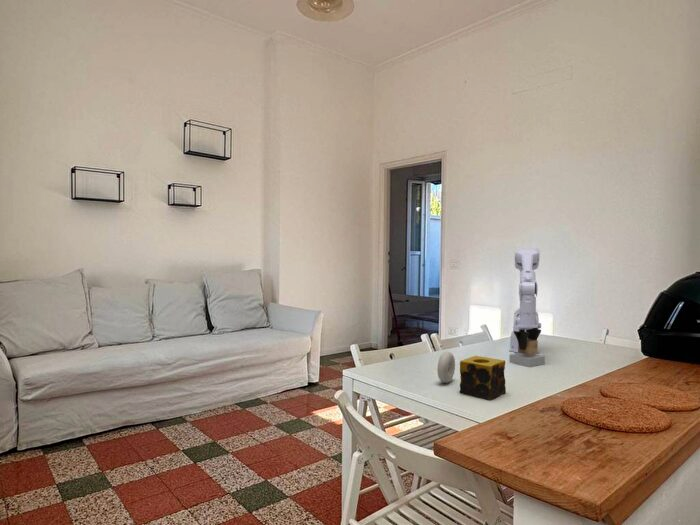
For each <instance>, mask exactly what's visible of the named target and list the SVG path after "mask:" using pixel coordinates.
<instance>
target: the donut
mask: <svg viewBox="0 0 700 525" xmlns="http://www.w3.org/2000/svg"><path fill="white" fill-rule="evenodd" d="M455 360H456V359H455V356H454V355H453V353H452V352H450V351H444V352H443V353H441V355H440V356H439V359H438V361H437V362H438V363H437V367H436V368H437V377H438V379H439V380H440V382H442V383H445V384H446V383H449V382H451V380H453V377H454V375H455V371H456V361H455Z"/></svg>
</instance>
